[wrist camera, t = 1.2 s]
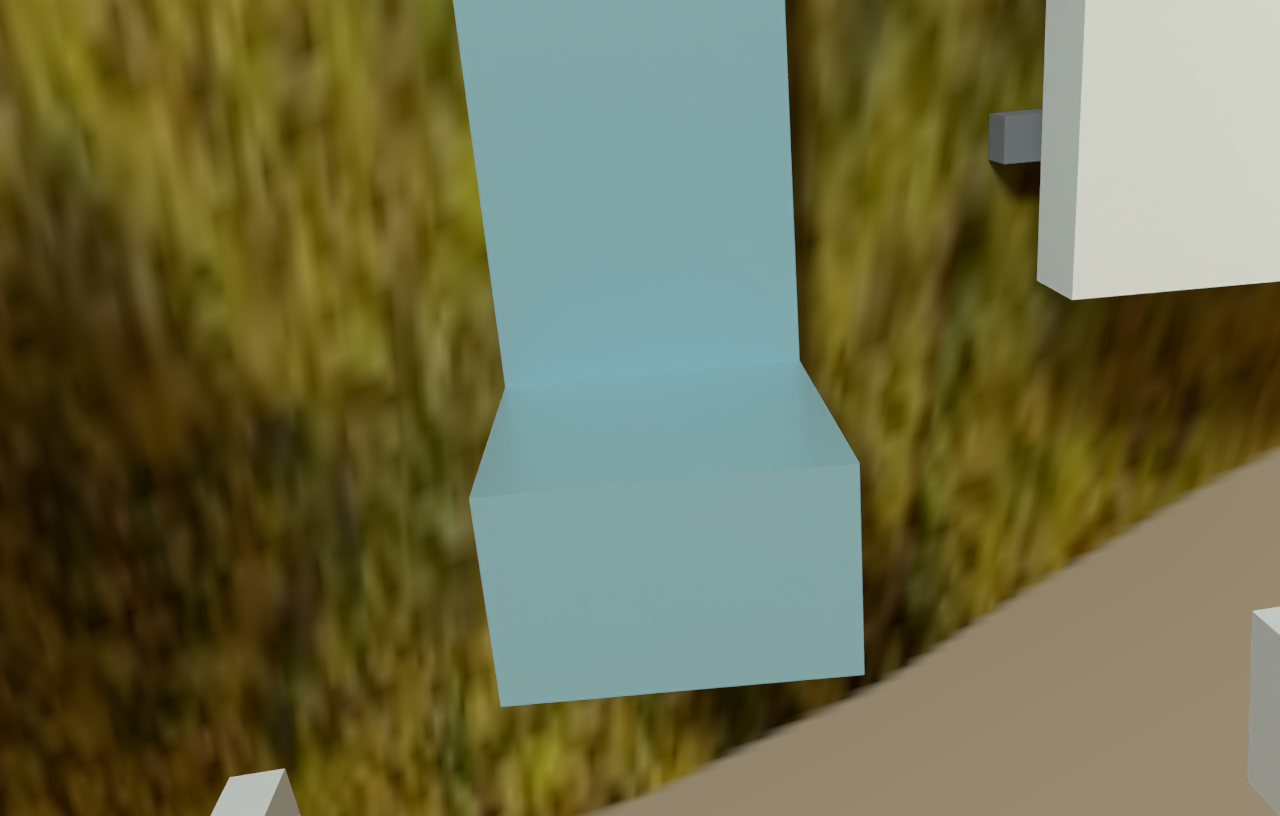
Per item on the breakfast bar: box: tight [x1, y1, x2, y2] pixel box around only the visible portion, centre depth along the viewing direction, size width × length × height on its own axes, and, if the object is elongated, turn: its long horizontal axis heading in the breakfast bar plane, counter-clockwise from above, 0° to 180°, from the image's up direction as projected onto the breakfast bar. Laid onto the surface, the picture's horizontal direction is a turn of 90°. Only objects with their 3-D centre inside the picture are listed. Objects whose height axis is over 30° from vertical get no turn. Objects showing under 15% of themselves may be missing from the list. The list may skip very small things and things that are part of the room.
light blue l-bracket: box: [453, 0, 865, 707], centre depth 24 cm, size 23×8×9 cm, turn 5°
